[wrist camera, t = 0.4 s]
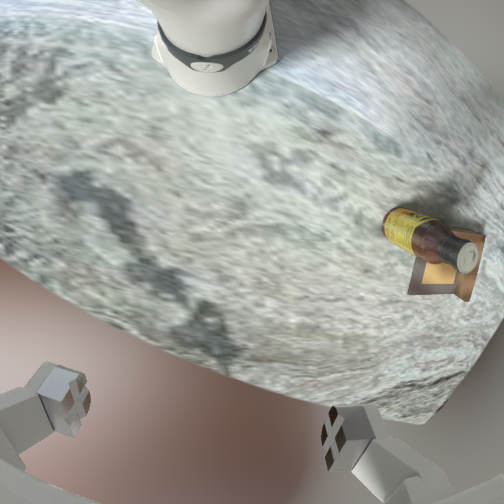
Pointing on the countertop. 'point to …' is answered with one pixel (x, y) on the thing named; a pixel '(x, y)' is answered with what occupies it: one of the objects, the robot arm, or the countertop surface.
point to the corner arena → (446, 272)
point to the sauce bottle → (429, 239)
